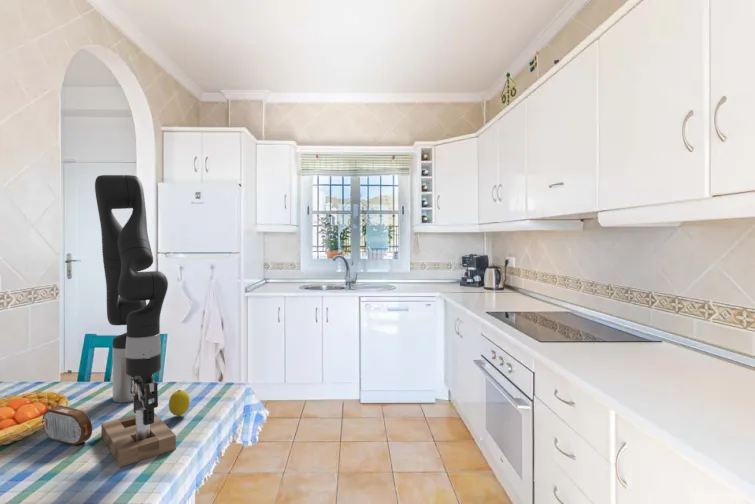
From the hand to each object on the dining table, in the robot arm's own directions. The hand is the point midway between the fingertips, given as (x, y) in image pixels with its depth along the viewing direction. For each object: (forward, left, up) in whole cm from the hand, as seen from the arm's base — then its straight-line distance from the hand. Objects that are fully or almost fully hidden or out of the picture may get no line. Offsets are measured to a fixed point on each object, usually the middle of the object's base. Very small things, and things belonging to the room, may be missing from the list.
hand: (143, 418), depth 100 cm
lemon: (-14, +13, -8) cm, 20 cm away
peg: (0, 0, -8) cm, 8 cm away
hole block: (-5, 0, -8) cm, 9 cm away
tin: (-18, -13, -8) cm, 24 cm away
